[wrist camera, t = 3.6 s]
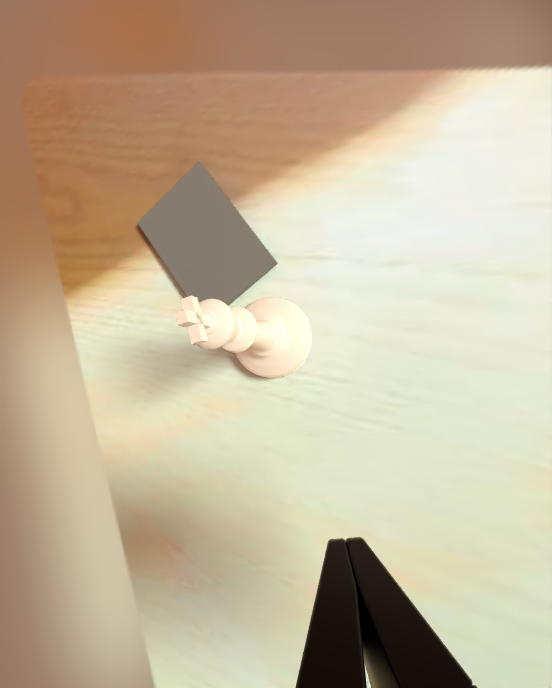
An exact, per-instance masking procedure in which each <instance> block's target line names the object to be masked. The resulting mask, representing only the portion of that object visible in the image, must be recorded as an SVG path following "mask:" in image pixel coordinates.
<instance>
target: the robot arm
mask: <svg viewBox="0 0 552 688" xmlns="http://www.w3.org/2000/svg"><path fill="white" fill-rule="evenodd" d="M364 662H365V665H364ZM365 666H366V670H367V673H368V677H369V681H370V684H371V688H477V686H475V685H473V686H472V680H471V679H470V678H469V676H468V675H467V674H466V672H465V671H464V670H463V668H462V667H461V666H460V664H459V663H458V662H457V661H456V659H455V658H454V657H453V655H452V654H451V653H450V651H449V650H448V649H447V648H446V646H445V645H444V644H443V642H442V641H441V640H440V638H439V637H438V636H437V634H436V633H435V632H434V631H433V629H432V628H431V627H430V625H429V624H428V623H427V621H426V620H425V619H424V617H423V616H422V615H421V614H420V612H419V611H418V610H417V608H416V607H415V606H414V604H413V603H412V602H411V601H410V599H409V598H408V597H407V595H406V594H405V593H404V591H403V590H402V589H401V587H400V586H399V585H398V584H397V582H396V581H395V580H394V578H393V577H392V576H391V574H390V573H389V572H388V571H387V569H386V568H385V567H384V565H383V564H382V563H381V561H380V560H379V559H378V557H377V556H376V555H375V554H374V552H373V551H372V550H371V548H370V547H369V546H368V544H367V543H366V542H365V541H364V539H363V538H361V537H355V538H347V539H346V541H345V540H344V539H342V538H341V539H330V540H329V541H328V544H327V549H326V553H325V558H324V562H323V567H322V571H321V576H320V580H319V585H318V589H317V594H316V598H315V603H314V607H313V612H312V616H311V621H310V625H309V630H308V634H307V639H306V643H305V648H304V652H303V657H302V661H301V666H300V670H299V675H298V679H297V684H296V688H367V687H366V676H365Z"/></svg>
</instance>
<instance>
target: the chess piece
mask: <svg viewBox="0 0 552 688" xmlns="http://www.w3.org/2000/svg"><path fill="white" fill-rule="evenodd" d="M181 302H182V307H183V310H182V311H180V312H177V313H175V318H176V322H177V326H183V327H187V328H188V332H189V336H190V340H191V344H195V345H198V346H199V347H201V348H204V349H217V348H220V347H221V348H223V349H224V350H226V351H228V352H232V353H236V356H237V358H238V359H239V361H240V362H241V364H242V365H243V366H244V367H245V368H246V369H247V370H249V371H250V372H252V373H254V374H256V375H258V376H261V377H265V378H280V377H284V376H287V375H289V374H291V373H293V372H294V371H296V370H297V369H298V368H299V367H300V366H301V365H302V364H303V363H304V361H305V360H306V358H307V356H308V354H309V351H310V348H311V343H312V331H311V326H310V323H309V321H308V319H307V317H306V315H305V314H304V312H303V311H302V310H301V309H300V308H299V307H298V306H297V305H295V304H294V303H292V302H290V301H288V300H285V299H281V298H263V299H260V300H257V301H255V302H253V303H251V304H250V305H249V306H247V307H246V308H242V307H230V308H229V306H228V305H227V304H225V303H224V302H222V301H220V300H217V299H206V300H203V301H201V302H200V303H199V302H198V298H197V297H194V296H188V297H186V298H183V299H181Z"/></svg>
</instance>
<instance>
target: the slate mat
mask: <svg viewBox="0 0 552 688" xmlns="http://www.w3.org/2000/svg"><path fill="white" fill-rule="evenodd" d="M137 223H138V225H139V226H140V228H141V229H142V231H143V232H144V234H145V235H146V237H147V238H148V240H149V241H150V243H151V244H152V246H153V247H154V249H155V250H156V252H157V253H158V255H159V256H160V258H161V259H162V261H163V262H164V264H165V265H166V267H167V268H168V270H169V271H170V273H171V274H172V276H173V277H174V279H175V280H176V282H177V283H178V285H179V286H180V288H181V289H182V291H183V292H184V294H185V295H186V297H188V296H194V297H197V298H198V302H199V303H200V302H201V301H203V300H206V299H217V300H220V301H222V302H224V303H225V304H227V305H230V304H231V303H232V302H233V301H234V300H235V299H237V298H238V297H239V296H240V295H241V294H242V293H244V292H245V291H246V290H247V289H248V288H250V287H251V286H252V285H253V284H254V283H255V282H257V281H258V280H259V279H260V278H261V277H262V276H264V275H265V274H266V273H267V272H268V271H269V270H271V269H272V268H273V267H274V266H275V265H277V264H278V263H277V262H276V261H275V259H274V258H273V257H272V256H271V254H270V253H269V252H268V250H267V249H266V248H265V246H264V245H263V244H262V242H261V241H260V240H259V239H258V237H257V236H256V235H255V233H254V232H253V231H252V229H251V228H250V227H249V225H248V224H247V223H246V222H245V220H244V219H243V218H242V216H241V215H240V214H239V212H238V211H237V210H236V208H235V207H234V206H233V205H232V203H231V202H230V201H229V199H228V198H227V197H226V195H225V194H224V193H223V191H222V190H221V189H220V187H219V186H218V185H217V184H216V182H215V181H214V180H213V178H212V177H211V176H210V174H209V173H208V172H207V170H206V169H205V168H204V167H203V165H202V164H201V163H200V162H198V163H197V164H196V165H195V166H194V167H193V168H192V169H191V170H190V171H189V172H188V173H187V174H186V175H185V176H184V177H183V178H182V179H181V180H180V181H179V182H178V183H177V184H176V185H175V186H174V187H173V188H172V189H171V190H170V191H169V192H168V193H167V194H166V195H165V196H164V197H163V198H162V199H161V200H159V201H158V202H157V203H156V204H155V205H154V206H153V207H152V208H151V209H150V210H149V211H148V212H147V213H146V214H145V215H144V216H143V217H142V218H141V219H140V220H139V221H138V222H137Z"/></svg>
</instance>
